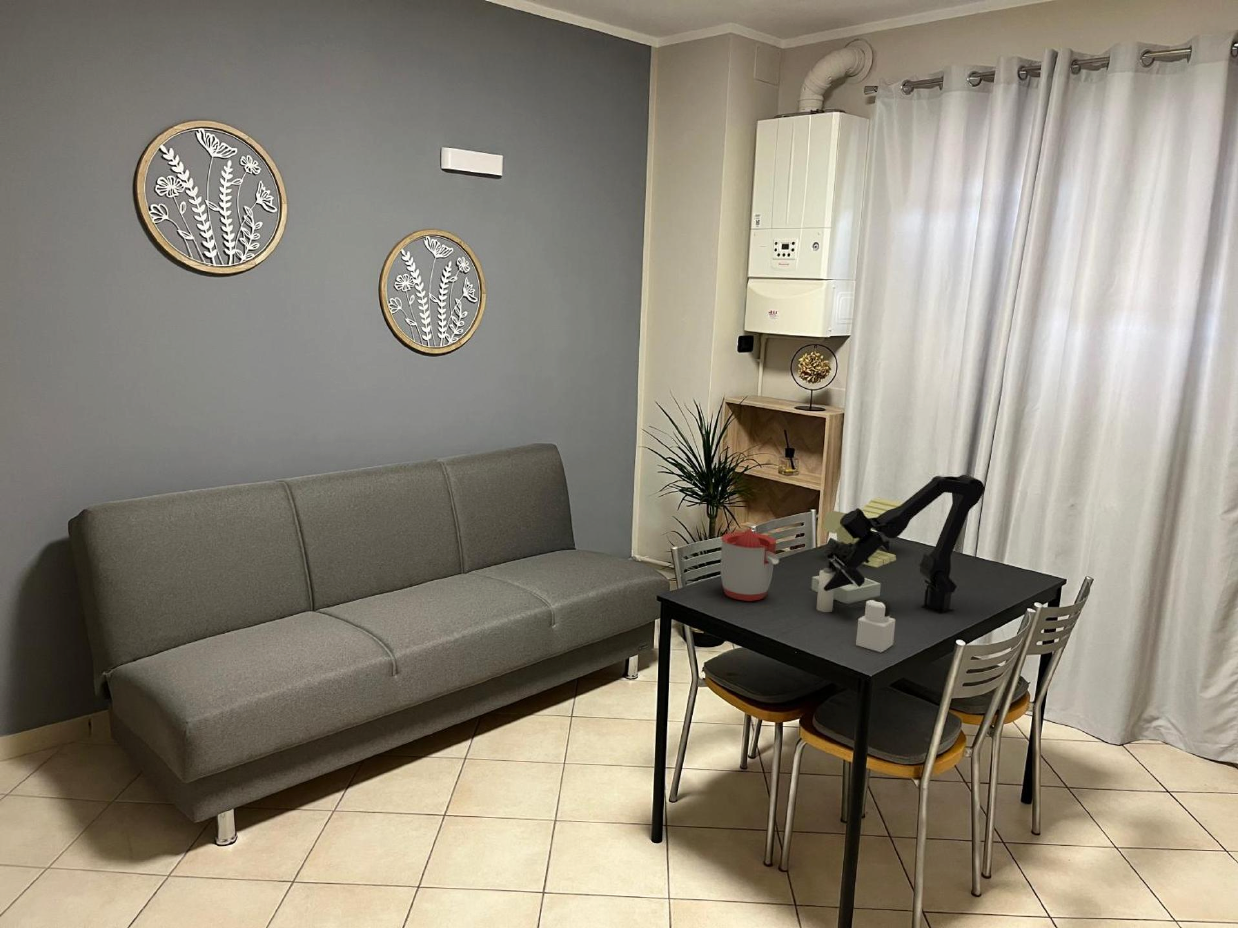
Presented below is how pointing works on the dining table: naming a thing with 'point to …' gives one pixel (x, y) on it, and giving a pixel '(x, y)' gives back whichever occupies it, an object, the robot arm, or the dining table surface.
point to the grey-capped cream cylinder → (825, 596)
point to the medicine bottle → (876, 626)
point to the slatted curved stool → (871, 511)
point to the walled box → (853, 591)
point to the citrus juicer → (747, 564)
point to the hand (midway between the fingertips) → (821, 587)
